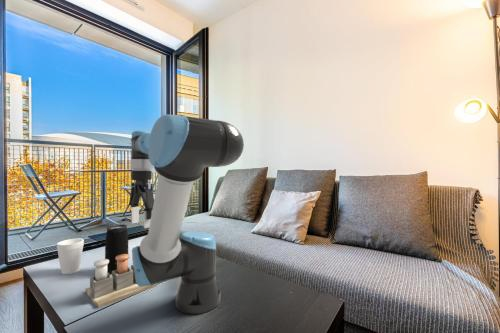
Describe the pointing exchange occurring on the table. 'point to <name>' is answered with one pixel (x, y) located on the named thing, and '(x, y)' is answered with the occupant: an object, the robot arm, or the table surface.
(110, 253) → the portable speaker
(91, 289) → the board
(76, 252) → the foam cup
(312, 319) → the table surface
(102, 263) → the plunger cream
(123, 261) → the plunger terracotta
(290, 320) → the table surface
